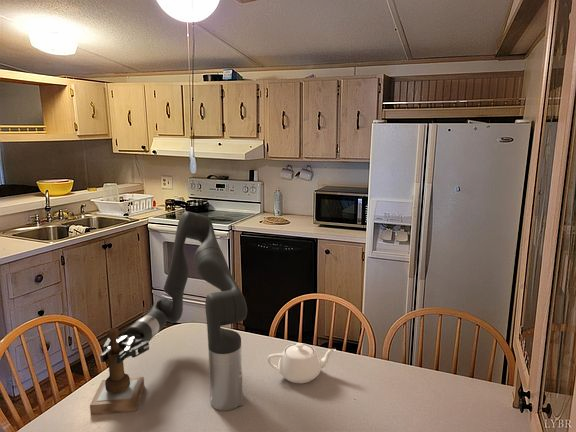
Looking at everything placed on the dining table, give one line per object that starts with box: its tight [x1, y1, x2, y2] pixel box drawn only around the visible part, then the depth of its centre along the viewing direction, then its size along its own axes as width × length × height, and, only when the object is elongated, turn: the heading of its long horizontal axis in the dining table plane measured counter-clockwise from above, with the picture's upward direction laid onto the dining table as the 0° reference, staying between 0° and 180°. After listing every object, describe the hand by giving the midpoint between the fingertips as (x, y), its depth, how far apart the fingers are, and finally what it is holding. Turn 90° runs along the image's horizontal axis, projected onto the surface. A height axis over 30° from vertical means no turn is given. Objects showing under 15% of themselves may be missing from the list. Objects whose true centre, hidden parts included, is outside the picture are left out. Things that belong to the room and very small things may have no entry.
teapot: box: [267, 342, 337, 384], centre depth 133 cm, size 22×14×11 cm, turn 94°
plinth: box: [89, 376, 145, 416], centre depth 121 cm, size 12×12×3 cm
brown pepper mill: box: [105, 327, 131, 393], centre depth 119 cm, size 7×6×18 cm
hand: (109, 360), depth 116 cm, fingers closed on brown pepper mill, 4 cm apart
